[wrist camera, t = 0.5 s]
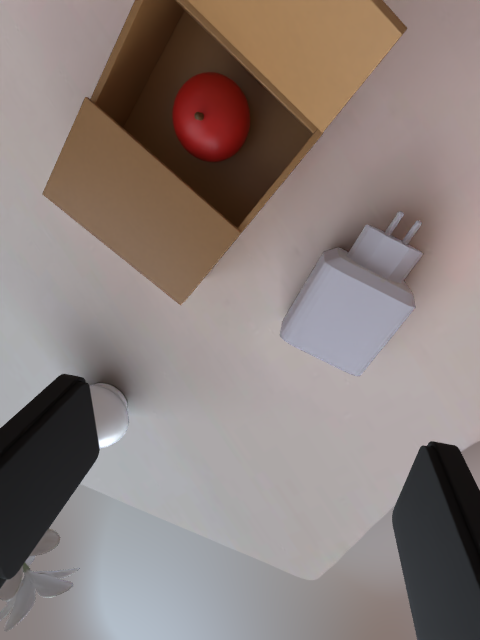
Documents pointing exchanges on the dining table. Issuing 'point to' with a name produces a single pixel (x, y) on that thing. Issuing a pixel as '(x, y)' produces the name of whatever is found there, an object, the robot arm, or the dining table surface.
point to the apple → (211, 117)
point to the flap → (309, 45)
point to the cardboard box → (172, 151)
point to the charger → (354, 299)
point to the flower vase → (22, 592)
